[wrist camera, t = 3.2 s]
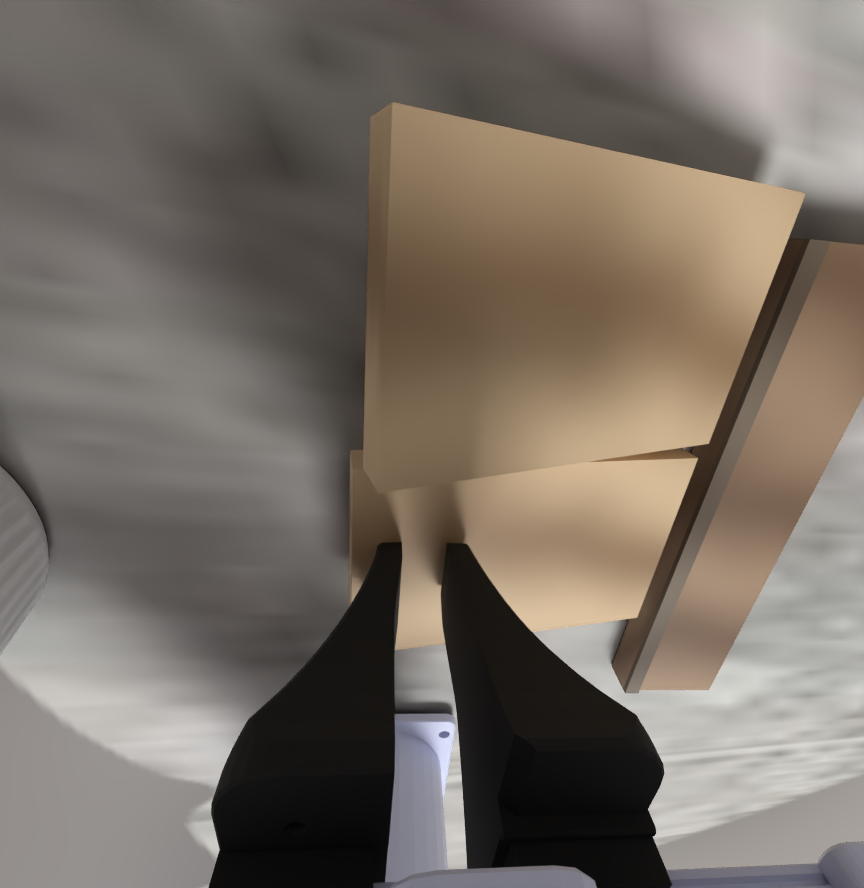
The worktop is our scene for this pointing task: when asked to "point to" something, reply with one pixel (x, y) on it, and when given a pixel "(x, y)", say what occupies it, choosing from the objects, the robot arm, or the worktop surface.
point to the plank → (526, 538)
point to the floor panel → (754, 469)
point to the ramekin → (19, 557)
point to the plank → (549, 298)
